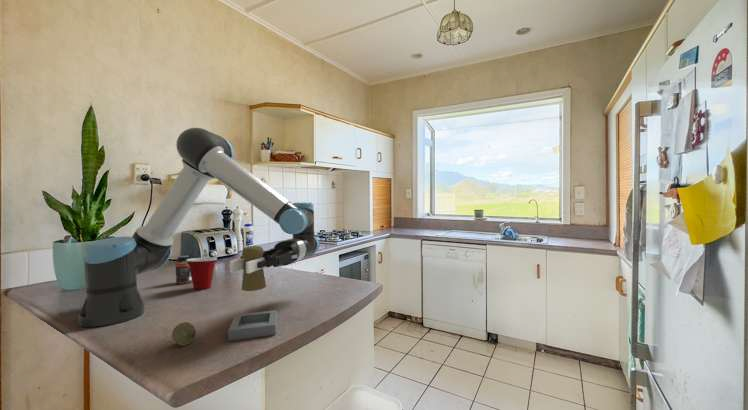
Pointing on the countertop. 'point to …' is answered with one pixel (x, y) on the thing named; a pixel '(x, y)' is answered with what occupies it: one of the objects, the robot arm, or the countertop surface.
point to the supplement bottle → (183, 271)
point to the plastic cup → (201, 272)
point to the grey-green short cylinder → (183, 333)
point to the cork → (257, 277)
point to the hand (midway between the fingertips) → (239, 267)
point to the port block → (253, 325)
